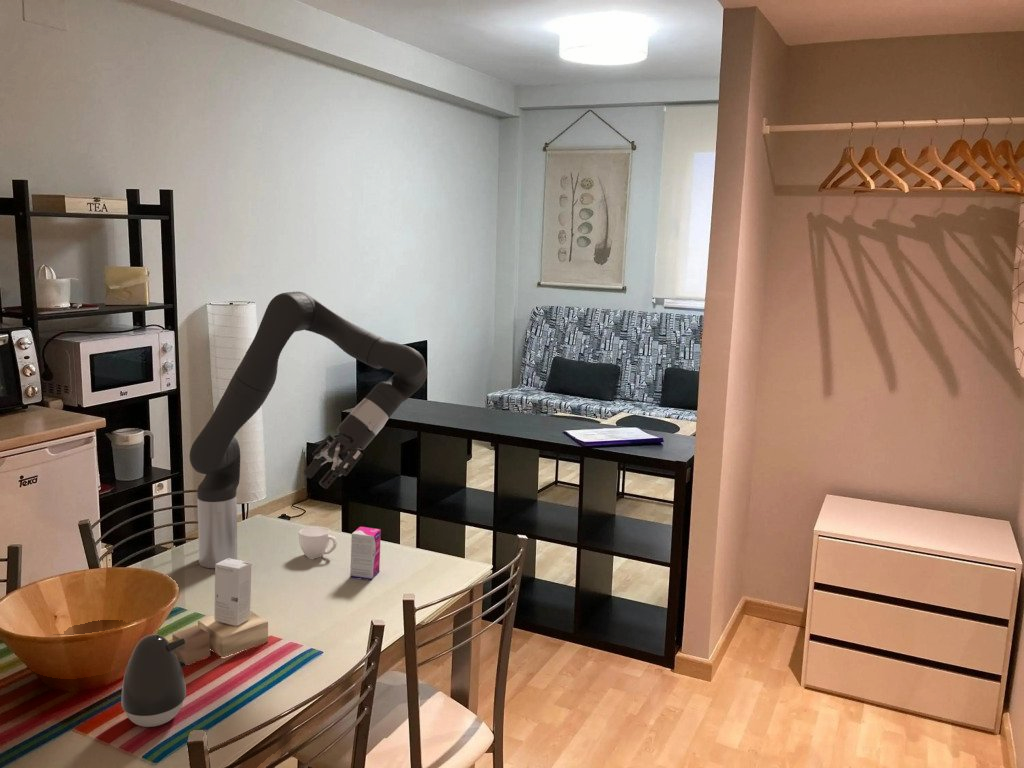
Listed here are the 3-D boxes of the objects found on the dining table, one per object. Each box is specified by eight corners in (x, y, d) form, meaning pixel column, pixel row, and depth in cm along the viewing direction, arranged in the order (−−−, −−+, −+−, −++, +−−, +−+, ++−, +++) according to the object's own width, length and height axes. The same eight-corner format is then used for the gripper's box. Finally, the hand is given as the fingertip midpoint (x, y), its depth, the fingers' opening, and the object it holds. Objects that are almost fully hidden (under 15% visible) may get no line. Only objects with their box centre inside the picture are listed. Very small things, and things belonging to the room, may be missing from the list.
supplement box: (372, 580, 204) (372, 536, 202) (349, 578, 205) (349, 533, 203) (380, 571, 209) (381, 528, 207) (358, 569, 210) (358, 525, 208)
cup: (307, 548, 222) (307, 524, 221) (342, 553, 220) (342, 528, 219) (294, 559, 215) (293, 534, 214) (330, 564, 213) (330, 538, 212)
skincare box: (213, 621, 169) (212, 563, 168) (228, 613, 174) (227, 557, 172) (238, 626, 167) (237, 568, 166) (252, 618, 171) (252, 561, 170)
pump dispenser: (182, 732, 140) (180, 648, 137) (115, 738, 138) (111, 652, 135) (192, 699, 150) (190, 620, 147) (130, 704, 147) (126, 624, 145)
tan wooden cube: (173, 657, 164) (172, 634, 163) (196, 648, 168) (195, 625, 167) (186, 666, 161) (186, 642, 160) (210, 657, 165) (209, 633, 164)
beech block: (198, 642, 171) (197, 620, 170) (243, 627, 178) (242, 605, 177) (222, 660, 164) (222, 637, 163) (268, 644, 171) (267, 621, 171)
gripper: (338, 407, 187) (289, 462, 183) (367, 419, 176) (315, 479, 172) (359, 427, 192) (312, 482, 187) (389, 441, 180) (339, 500, 176)
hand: (314, 481), depth 179 cm, fingers open, 8 cm apart
